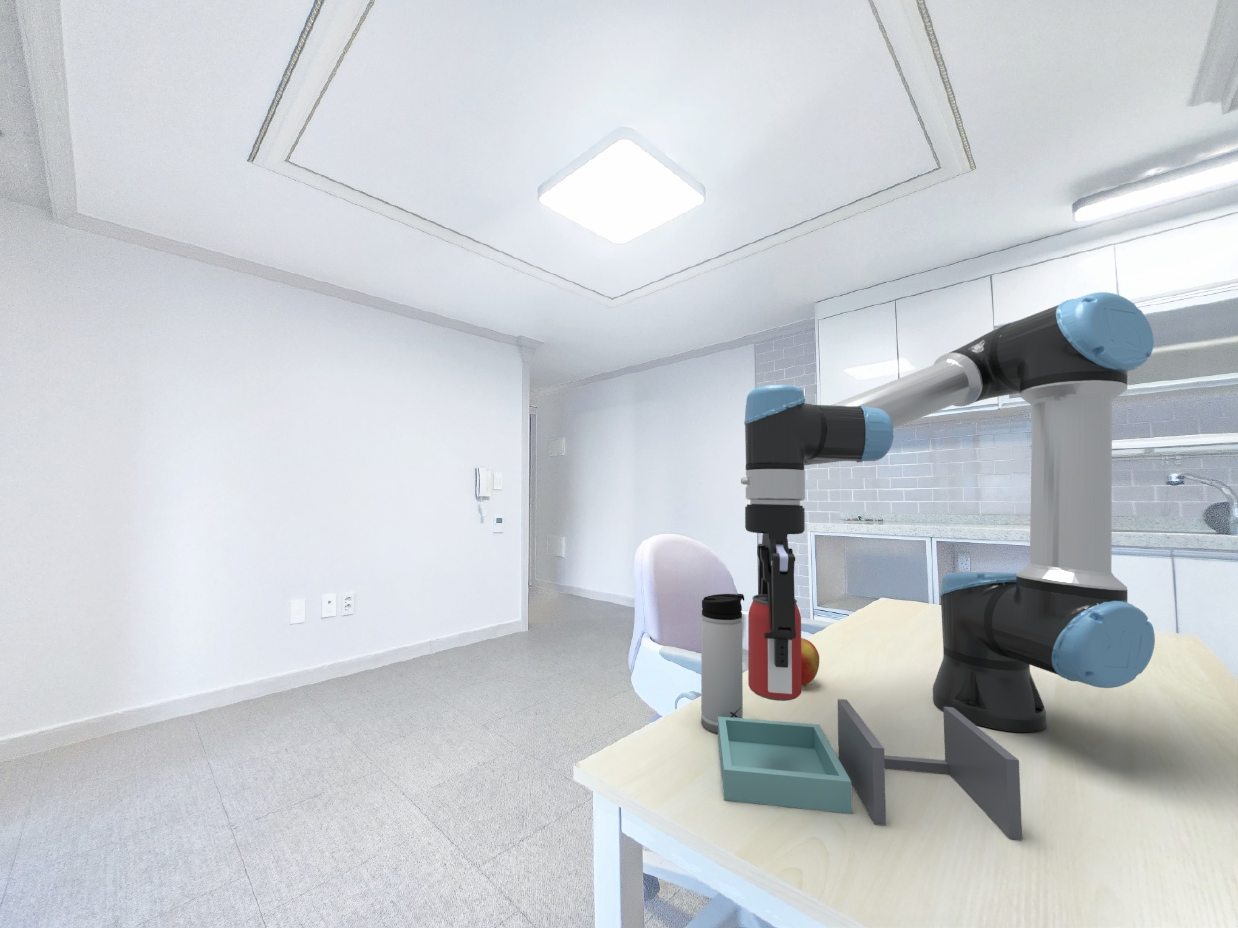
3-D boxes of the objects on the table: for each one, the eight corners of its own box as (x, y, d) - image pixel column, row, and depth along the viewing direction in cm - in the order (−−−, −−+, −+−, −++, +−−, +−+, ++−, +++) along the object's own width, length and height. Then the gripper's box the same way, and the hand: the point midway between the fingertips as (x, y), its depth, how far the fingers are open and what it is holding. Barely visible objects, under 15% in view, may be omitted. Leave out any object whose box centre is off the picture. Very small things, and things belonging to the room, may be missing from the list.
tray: (819, 749, 68) (819, 724, 68) (851, 813, 54) (851, 781, 55) (717, 740, 70) (718, 716, 70) (724, 799, 56) (724, 769, 57)
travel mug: (746, 737, 71) (745, 598, 73) (700, 732, 73) (700, 596, 74) (743, 718, 77) (743, 591, 79) (701, 714, 79) (702, 589, 80)
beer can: (741, 682, 66) (741, 593, 67) (788, 682, 66) (787, 593, 67) (759, 703, 59) (759, 603, 60) (811, 702, 60) (810, 603, 61)
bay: (955, 770, 63) (953, 707, 64) (1022, 839, 50) (1018, 759, 51) (838, 760, 65) (837, 698, 66) (874, 824, 53) (872, 747, 53)
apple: (827, 684, 92) (827, 631, 93) (805, 695, 87) (805, 638, 87) (789, 672, 98) (788, 622, 99) (766, 682, 93) (765, 628, 94)
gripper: (738, 501, 75) (738, 655, 73) (754, 502, 56) (754, 710, 54) (789, 502, 74) (790, 658, 72) (823, 504, 54) (825, 716, 53)
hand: (774, 680), depth 63 cm, fingers closed on beer can, 6 cm apart
